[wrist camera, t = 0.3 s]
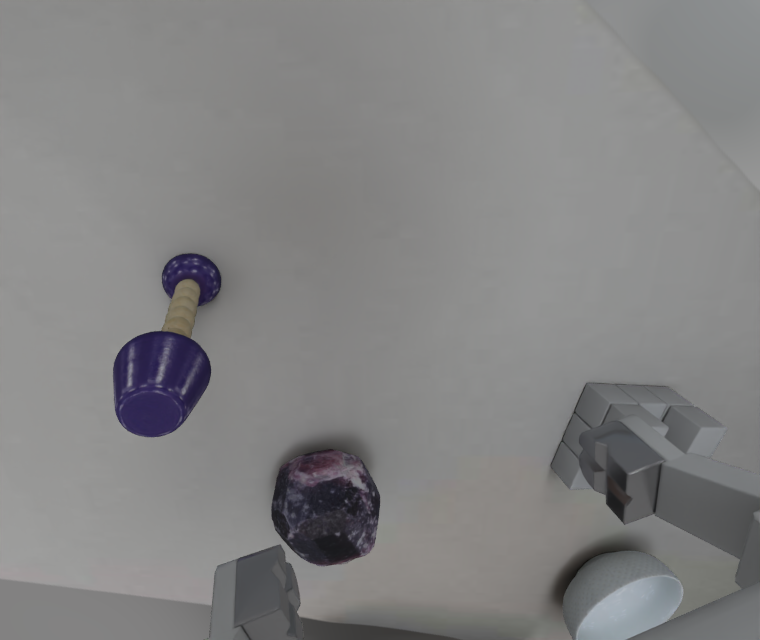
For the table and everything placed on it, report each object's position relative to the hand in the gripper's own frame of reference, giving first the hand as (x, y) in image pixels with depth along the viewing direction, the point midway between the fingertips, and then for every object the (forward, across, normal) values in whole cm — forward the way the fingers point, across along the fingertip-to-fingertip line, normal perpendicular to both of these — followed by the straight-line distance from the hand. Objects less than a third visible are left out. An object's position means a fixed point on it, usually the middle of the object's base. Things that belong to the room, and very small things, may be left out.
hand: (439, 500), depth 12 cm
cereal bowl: (+27, -27, +61) cm, 72 cm away
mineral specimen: (+28, +6, +24) cm, 37 cm away
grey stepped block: (+27, -28, +33) cm, 51 cm away
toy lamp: (+28, +10, +1) cm, 30 cm away
